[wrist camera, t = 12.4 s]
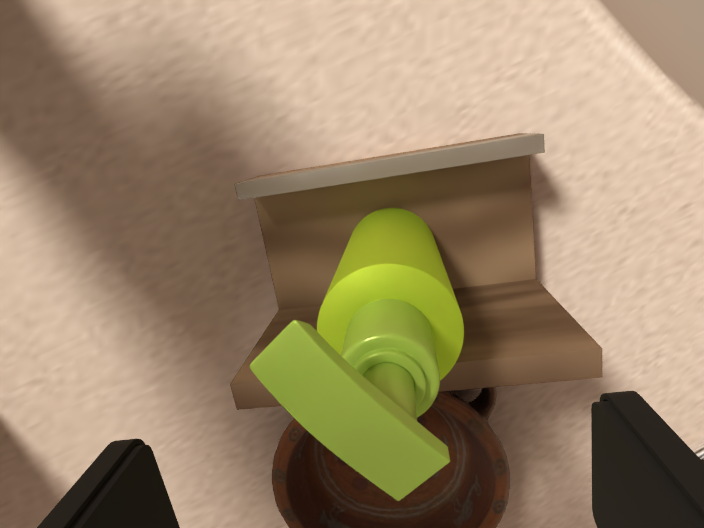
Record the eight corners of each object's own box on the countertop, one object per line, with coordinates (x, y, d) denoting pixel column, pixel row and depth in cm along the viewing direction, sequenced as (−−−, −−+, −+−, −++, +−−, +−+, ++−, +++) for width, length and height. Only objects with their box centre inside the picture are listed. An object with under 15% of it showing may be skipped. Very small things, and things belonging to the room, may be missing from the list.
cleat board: (258, 176, 32) (180, 201, 20) (519, 133, 29) (599, 134, 18) (289, 317, 34) (237, 409, 23) (528, 289, 32) (602, 377, 21)
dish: (237, 473, 40) (215, 520, 35) (379, 287, 33) (376, 313, 29) (395, 571, 41) (395, 628, 36) (560, 410, 35) (586, 454, 30)
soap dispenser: (379, 178, 29) (347, 268, 10) (453, 249, 30) (558, 460, 11) (320, 241, 30) (193, 425, 11) (392, 307, 31) (388, 580, 12)
